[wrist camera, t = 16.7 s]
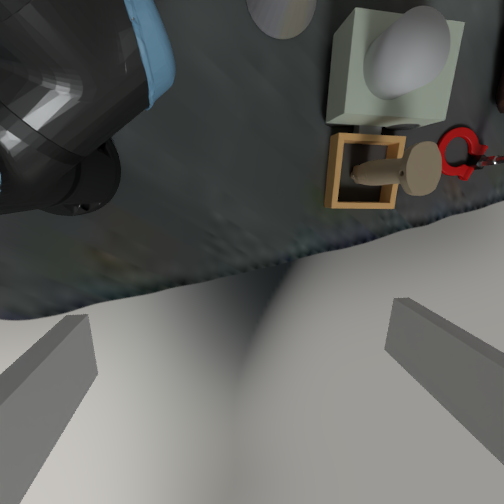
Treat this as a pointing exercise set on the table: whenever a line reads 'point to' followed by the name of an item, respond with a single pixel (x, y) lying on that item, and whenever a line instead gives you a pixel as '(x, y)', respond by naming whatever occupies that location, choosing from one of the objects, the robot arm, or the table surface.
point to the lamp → (282, 16)
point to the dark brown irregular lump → (500, 93)
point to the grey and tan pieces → (387, 84)
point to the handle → (404, 170)
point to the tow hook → (474, 149)
